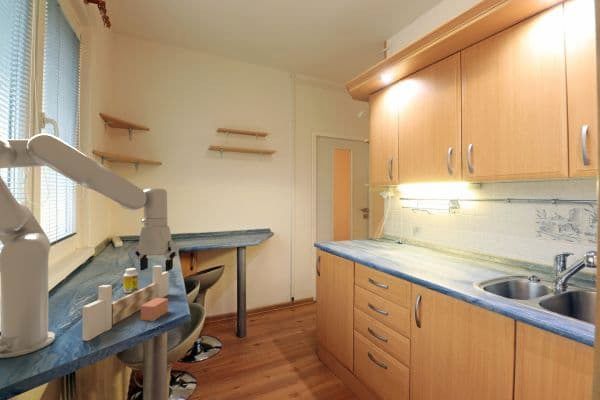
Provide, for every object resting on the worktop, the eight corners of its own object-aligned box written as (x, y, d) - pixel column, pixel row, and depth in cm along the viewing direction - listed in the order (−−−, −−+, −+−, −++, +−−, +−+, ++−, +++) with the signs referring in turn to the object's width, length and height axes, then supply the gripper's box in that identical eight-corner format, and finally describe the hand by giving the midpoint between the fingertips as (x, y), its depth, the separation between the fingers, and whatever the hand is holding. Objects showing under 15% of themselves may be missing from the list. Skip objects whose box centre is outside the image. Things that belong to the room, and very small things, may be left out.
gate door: (110, 326, 90) (110, 305, 90) (106, 326, 90) (106, 305, 90) (156, 300, 113) (156, 283, 113) (153, 300, 113) (153, 283, 113)
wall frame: (89, 340, 81) (90, 293, 81) (80, 340, 82) (81, 293, 82) (169, 294, 121) (169, 262, 121) (163, 294, 121) (163, 262, 121)
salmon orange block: (154, 321, 95) (154, 306, 95) (140, 320, 96) (140, 306, 96) (167, 311, 103) (167, 298, 103) (155, 311, 104) (155, 297, 104)
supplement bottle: (133, 293, 122) (133, 270, 122) (120, 293, 121) (120, 270, 121) (140, 289, 127) (140, 267, 127) (127, 289, 127) (128, 267, 127)
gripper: (126, 223, 97) (127, 272, 97) (172, 223, 95) (172, 273, 95) (141, 221, 104) (141, 266, 104) (184, 221, 102) (184, 267, 102)
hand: (156, 269), depth 100 cm, fingers open, 9 cm apart
